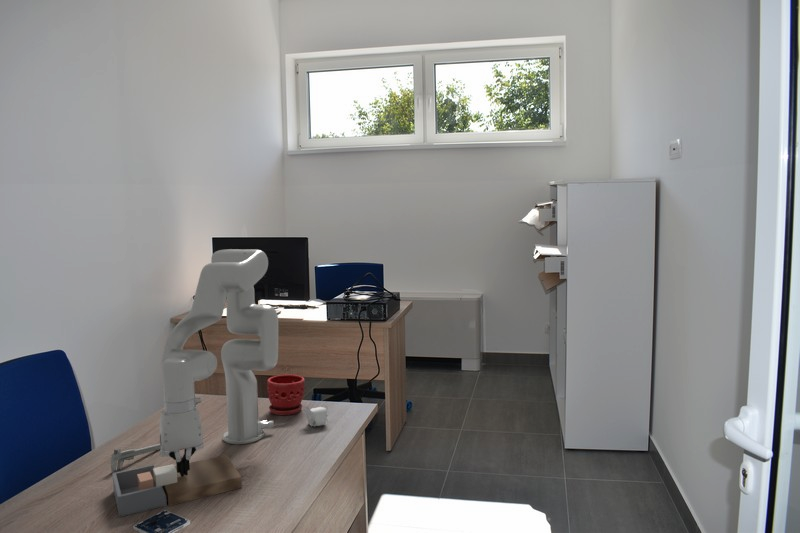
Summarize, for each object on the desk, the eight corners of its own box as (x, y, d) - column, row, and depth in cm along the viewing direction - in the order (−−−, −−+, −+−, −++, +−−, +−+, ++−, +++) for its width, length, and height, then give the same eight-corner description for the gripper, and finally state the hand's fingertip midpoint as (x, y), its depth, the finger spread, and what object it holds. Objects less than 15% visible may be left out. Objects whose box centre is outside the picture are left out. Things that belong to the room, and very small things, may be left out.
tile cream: (174, 474, 156) (173, 463, 156) (177, 482, 151) (176, 471, 151) (153, 479, 153) (153, 468, 153) (156, 487, 149) (155, 475, 149)
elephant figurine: (312, 432, 192) (311, 410, 192) (302, 423, 201) (301, 402, 200) (334, 427, 196) (333, 406, 195) (323, 418, 204) (322, 398, 204)
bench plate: (226, 465, 168) (225, 454, 168) (241, 487, 155) (241, 476, 154) (158, 480, 159) (158, 469, 159) (168, 505, 146) (168, 494, 145)
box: (157, 481, 159) (156, 463, 158) (166, 505, 146) (165, 485, 145) (113, 491, 153) (112, 473, 153) (119, 517, 141) (117, 497, 140)
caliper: (114, 474, 164) (112, 452, 164) (111, 473, 165) (109, 451, 164) (169, 446, 183) (168, 425, 183) (167, 445, 184) (166, 425, 183)
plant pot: (295, 419, 204) (294, 385, 203) (261, 415, 208) (260, 382, 207) (311, 406, 217) (310, 374, 216) (279, 403, 221) (278, 372, 220)
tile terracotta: (149, 471, 153) (137, 474, 151) (153, 478, 148) (140, 481, 147) (150, 490, 153) (138, 493, 152) (154, 498, 149) (141, 501, 147)
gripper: (206, 396, 160) (209, 462, 162) (146, 406, 152) (150, 475, 154) (213, 404, 153) (216, 472, 155) (150, 415, 146) (155, 486, 148)
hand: (183, 473), depth 155 cm, fingers closed
